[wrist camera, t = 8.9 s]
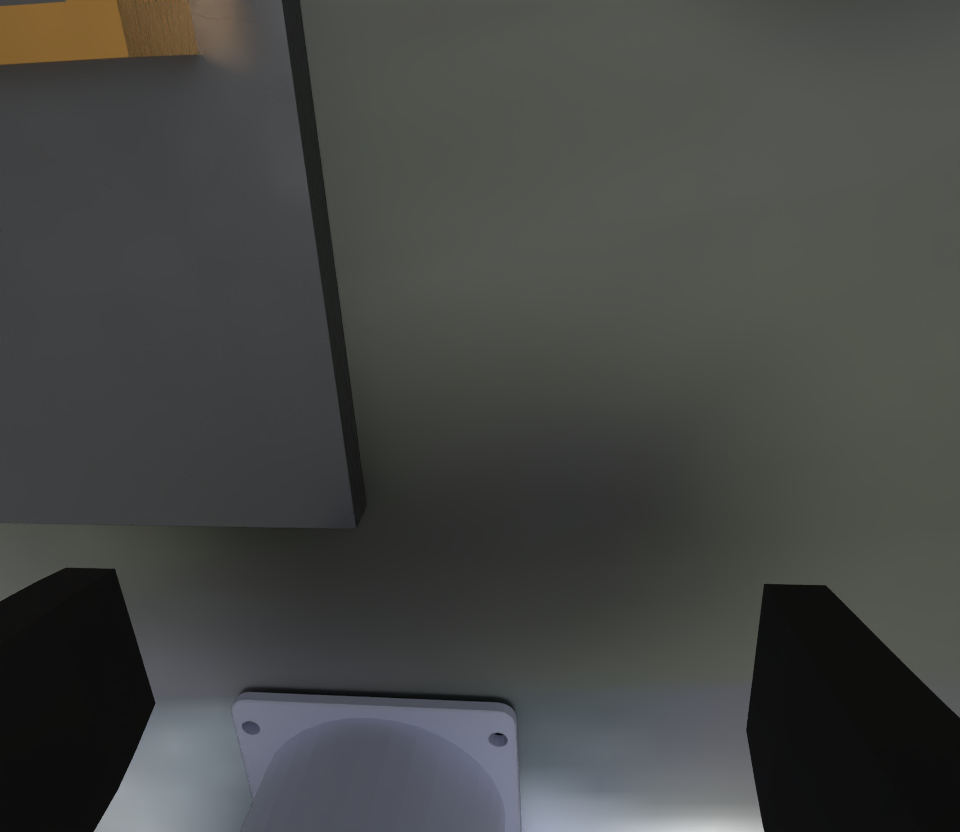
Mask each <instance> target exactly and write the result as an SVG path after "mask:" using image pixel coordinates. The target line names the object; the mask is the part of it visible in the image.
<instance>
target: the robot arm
mask: <svg viewBox="0 0 960 832" xmlns="http://www.w3.org/2000/svg"><path fill="white" fill-rule="evenodd" d="M154 706H155V700H154V697H153V694H152V690H151V687H150V684H149V680H148V677H147V674H146V670H145V667H144V664H143V660H142V657H141V654H140V651H139V647H138V644H137V641H136V637H135V634H134V631H133V627H132V624H131V621H130V617H129V614H128V611H127V607H126V604H125V601H124V597H123V594H122V591H121V588H120V584H119V581H118V578H117V574H116V571H115V569H97V568H64V569H62V570H60V571H58V572H56V573H54V574H52V575H50V576H47V577H45V578H43V579H41V580H39V581H37V582H35V583H33V584H32V585H30V586H28V587H26V588H24V589H22V590H20V591H18V592H17V593H15V594H13V595H11V596H9V597H8V598H6V599H4V600H2V601H0V832H94V830H95V828H96V827H97V825H98V823H99V822H100V820H101V818H102V816H103V815H104V813H105V811H106V810H107V808H108V806H109V804H110V802H111V801H112V799H113V797H114V795H115V794H116V792H117V790H118V788H119V786H120V784H121V782H122V780H123V777H124V775H125V773H126V771H127V769H128V767H129V764H130V762H131V760H132V758H133V756H134V753H135V751H136V749H137V747H138V744H139V742H140V739H141V737H142V735H143V732H144V730H145V727H146V725H147V722H148V720H149V718H150V715H151V713H152V710H153V708H154ZM231 713H232V717H233V721H234V725H235V729H236V733H237V737H238V741H239V745H240V749H241V753H242V757H243V761H244V765H245V769H246V773H247V777H248V781H249V785H250V789H251V793H252V797H253V802H252V805H251V807H250V809H249V812H248V814H247V816H246V819H245V821H244V824H243V826H242V828H241V831H240V832H522V828H521V806H520V783H519V760H518V738H517V717H516V714H515V711H514V710H513V709H512V708H511V707H510V706H508V705H506V704H503V703H498V702H474V701H450V700H426V699H403V698H379V697H355V696H332V695H308V694H284V693H261V692H245V693H242V694H240V695H238V697H237V698H236V700H235V702H234V704H233V706H232V708H231ZM251 721H252V722H255V723H256V724H255V723H252V722H251ZM746 731H747V737H748V743H749V749H750V755H751V761H752V767H753V773H754V779H755V785H756V790H757V796H758V801H759V807H760V812H761V818H762V823H763V828H764V831H765V832H960V718H959V717H958V716H957V715H956V714H955V713H954V712H953V711H952V710H951V709H950V708H949V707H948V706H947V705H946V704H944V703H943V702H942V701H941V700H940V699H939V698H938V697H937V696H936V695H935V694H934V693H933V692H932V691H931V690H930V689H929V688H928V687H927V686H926V685H925V684H924V683H923V682H922V681H921V680H920V679H919V678H918V677H917V676H916V675H915V674H914V673H913V672H912V671H911V670H910V669H909V668H908V667H907V666H906V665H905V664H904V663H903V662H902V661H901V660H900V659H899V658H898V657H897V656H896V655H895V654H894V653H893V652H892V651H891V650H890V649H889V648H888V647H887V646H886V645H885V644H884V643H883V642H882V641H881V640H880V639H879V638H878V637H877V636H876V635H875V634H874V633H873V632H872V631H871V630H870V629H869V628H868V627H867V626H866V625H865V624H864V623H863V622H862V621H861V620H860V619H859V618H858V617H857V616H856V615H855V614H854V613H853V612H852V611H851V610H850V609H849V608H848V607H847V606H846V605H845V604H844V603H843V602H842V601H841V600H840V599H839V598H838V597H837V596H836V595H835V594H834V593H833V592H832V591H831V590H830V589H829V588H828V587H827V586H826V585H785V584H764V590H763V598H762V606H761V614H760V622H759V631H758V639H757V647H756V655H755V663H754V671H753V680H752V688H751V696H750V704H749V712H748V720H747V729H746ZM494 733H501V734H504V735H495V734H494Z"/></svg>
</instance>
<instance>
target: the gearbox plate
mask: <svg viewBox="0 0 960 832" xmlns="http://www.w3.org/2000/svg"><path fill="white" fill-rule="evenodd" d="M365 508H366V501H365V493H364V486H363V478H362V471H361V463H360V456H359V448H358V441H357V433H356V426H355V418H354V410H353V403H352V395H351V388H350V380H349V373H348V365H347V358H346V350H345V343H344V335H343V327H342V320H341V312H340V305H339V297H338V290H337V282H336V275H335V267H334V260H333V252H332V244H331V237H330V229H329V222H328V214H327V207H326V199H325V192H324V184H323V177H322V169H321V161H320V154H319V146H318V139H317V131H316V124H315V116H314V109H313V101H312V94H311V86H310V78H309V71H308V63H307V56H306V48H305V41H304V33H303V26H302V18H301V11H300V3H299V0H0V523H30V524H93V525H155V526H217V527H279V528H341V529H356V528H357V525H358V523H359V521H360V519H361V517H362V514H363V512H364V510H365Z"/></svg>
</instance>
